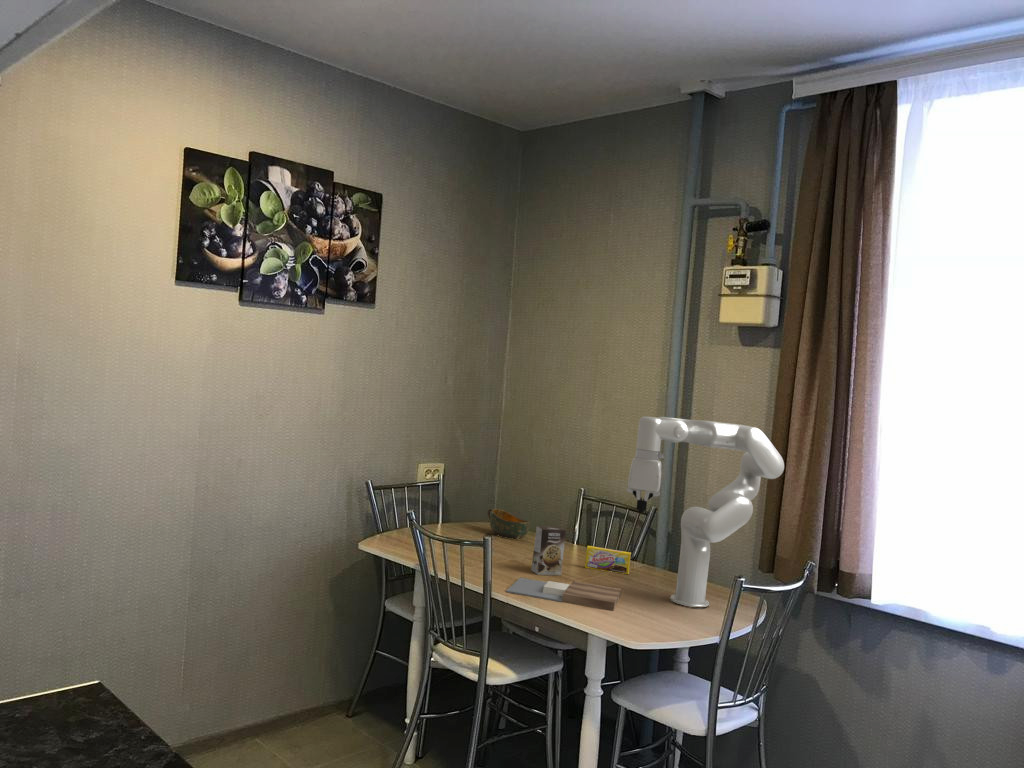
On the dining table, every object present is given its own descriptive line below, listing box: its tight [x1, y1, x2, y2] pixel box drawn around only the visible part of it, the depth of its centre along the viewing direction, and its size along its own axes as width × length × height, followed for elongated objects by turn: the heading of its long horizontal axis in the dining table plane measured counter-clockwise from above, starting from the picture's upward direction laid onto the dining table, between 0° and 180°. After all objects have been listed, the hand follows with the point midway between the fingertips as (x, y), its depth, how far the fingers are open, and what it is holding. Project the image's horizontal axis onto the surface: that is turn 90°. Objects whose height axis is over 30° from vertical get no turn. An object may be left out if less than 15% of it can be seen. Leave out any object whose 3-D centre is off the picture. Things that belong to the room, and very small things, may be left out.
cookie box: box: [530, 525, 567, 576], centre depth 294 cm, size 9×6×16 cm
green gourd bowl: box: [487, 508, 531, 540], centre depth 351 cm, size 13×20×10 cm, turn 24°
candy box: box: [584, 545, 632, 575], centre depth 307 cm, size 16×2×8 cm, turn 76°
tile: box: [543, 580, 571, 596], centre depth 268 cm, size 8×7×2 cm
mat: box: [505, 577, 563, 603], centre depth 270 cm, size 19×18×1 cm
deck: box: [561, 580, 622, 611], centre depth 266 cm, size 18×16×2 cm
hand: (641, 512), depth 266 cm, fingers closed
